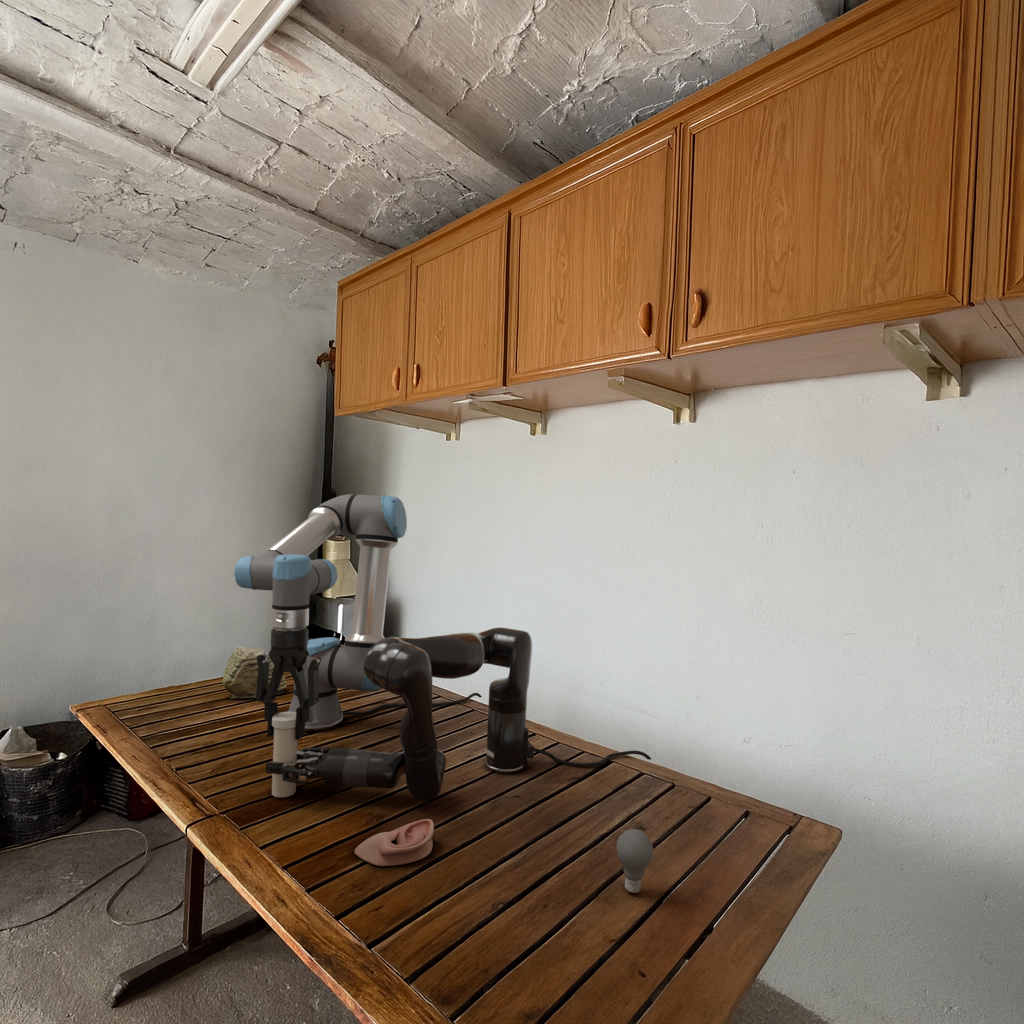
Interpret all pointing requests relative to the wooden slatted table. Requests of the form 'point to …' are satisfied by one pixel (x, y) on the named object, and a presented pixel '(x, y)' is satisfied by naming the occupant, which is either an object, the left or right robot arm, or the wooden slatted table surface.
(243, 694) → the fossil
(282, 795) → the jar
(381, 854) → the anatomical model
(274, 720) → the lid
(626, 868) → the light bulb
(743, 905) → the wooden slatted table surface
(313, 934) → the wooden slatted table surface
